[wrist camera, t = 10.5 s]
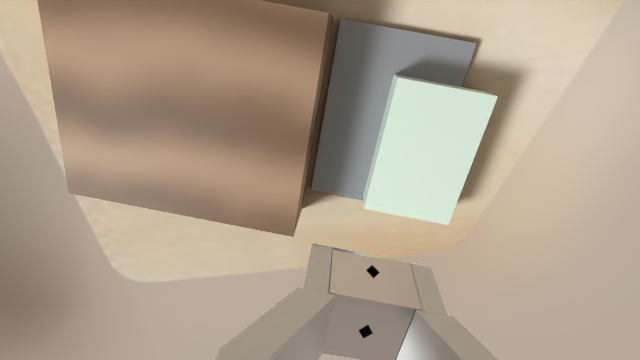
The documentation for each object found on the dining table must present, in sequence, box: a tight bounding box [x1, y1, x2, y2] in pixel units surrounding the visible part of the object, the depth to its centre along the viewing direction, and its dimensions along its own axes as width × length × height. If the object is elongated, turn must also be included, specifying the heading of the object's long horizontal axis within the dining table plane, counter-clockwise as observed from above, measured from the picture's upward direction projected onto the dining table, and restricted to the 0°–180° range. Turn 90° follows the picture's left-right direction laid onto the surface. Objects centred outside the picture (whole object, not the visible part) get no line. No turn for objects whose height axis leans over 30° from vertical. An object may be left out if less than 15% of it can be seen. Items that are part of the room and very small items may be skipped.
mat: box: [311, 19, 477, 201], centre depth 23 cm, size 12×8×1 cm
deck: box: [38, 0, 333, 237], centre depth 22 cm, size 14×16×4 cm
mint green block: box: [363, 74, 498, 225], centre depth 22 cm, size 9×6×2 cm, turn 170°
